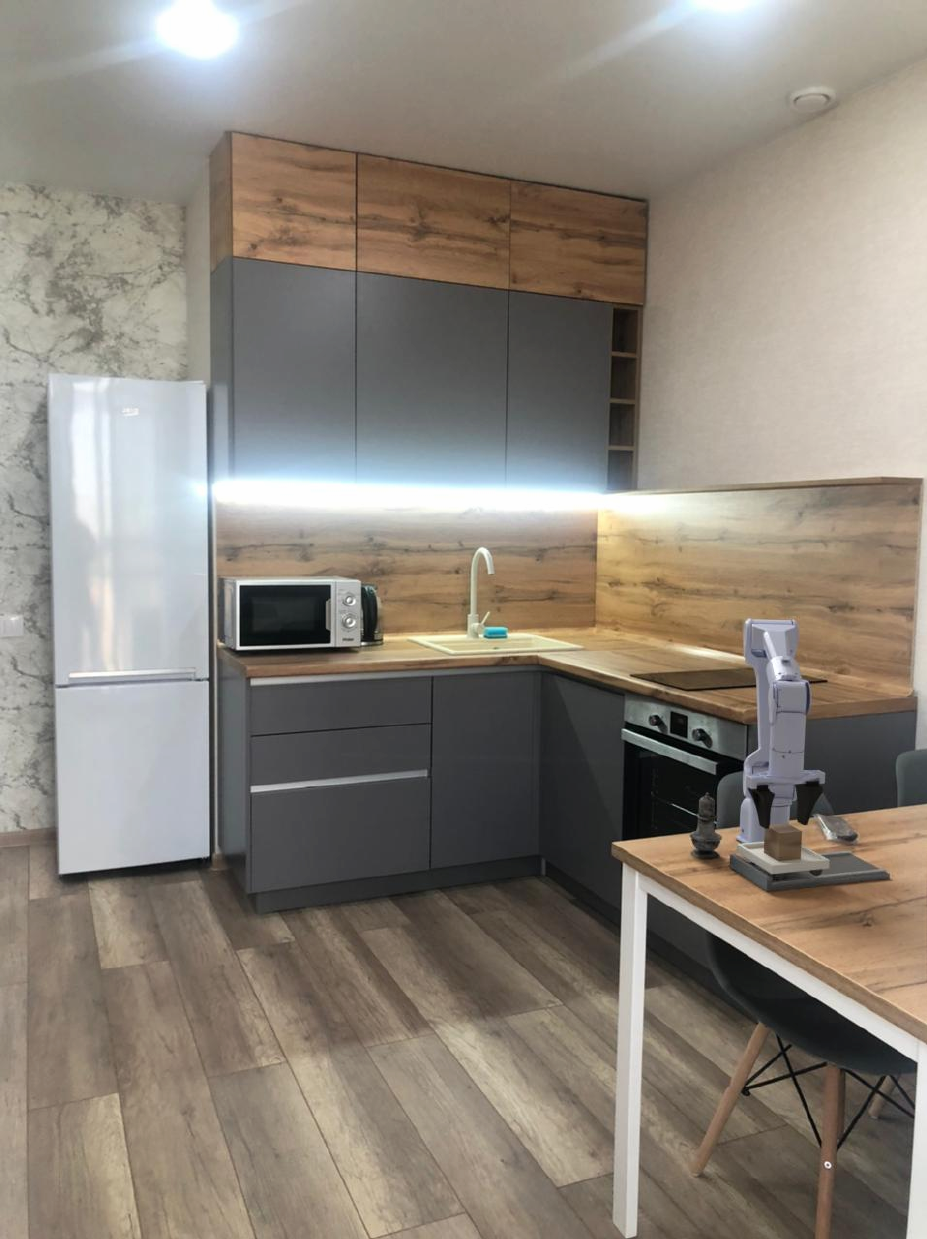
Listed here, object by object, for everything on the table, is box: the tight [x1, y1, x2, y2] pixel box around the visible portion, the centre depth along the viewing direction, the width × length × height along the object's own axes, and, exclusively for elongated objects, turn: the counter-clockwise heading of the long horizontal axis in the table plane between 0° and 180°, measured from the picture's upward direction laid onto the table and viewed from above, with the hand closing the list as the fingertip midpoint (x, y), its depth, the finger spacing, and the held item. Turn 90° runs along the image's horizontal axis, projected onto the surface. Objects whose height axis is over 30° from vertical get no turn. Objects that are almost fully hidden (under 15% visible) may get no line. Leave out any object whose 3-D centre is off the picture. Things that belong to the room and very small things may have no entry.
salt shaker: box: [689, 791, 723, 860], centre depth 186 cm, size 6×6×12 cm
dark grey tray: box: [728, 850, 891, 892], centre depth 178 cm, size 12×24×2 cm, turn 106°
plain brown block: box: [764, 823, 803, 861], centre depth 176 cm, size 4×4×5 cm
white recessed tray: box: [736, 842, 830, 880], centre depth 176 cm, size 11×11×3 cm
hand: (783, 825), depth 176 cm, fingers open, 7 cm apart
